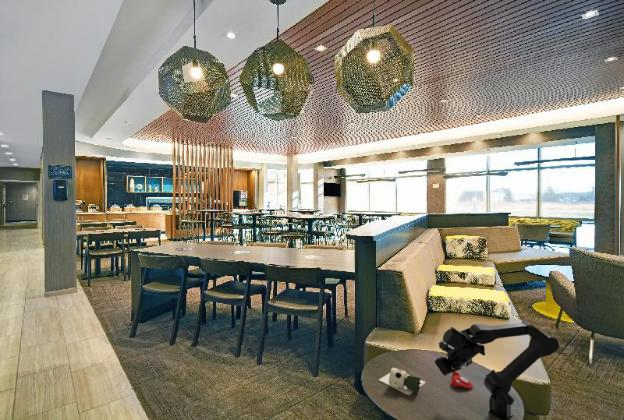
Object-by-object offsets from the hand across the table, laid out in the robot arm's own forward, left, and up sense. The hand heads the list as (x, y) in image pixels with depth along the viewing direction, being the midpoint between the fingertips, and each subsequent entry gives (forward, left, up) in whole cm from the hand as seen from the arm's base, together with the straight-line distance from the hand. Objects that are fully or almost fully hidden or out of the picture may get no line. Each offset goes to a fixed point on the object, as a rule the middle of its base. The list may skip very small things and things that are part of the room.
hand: (441, 371), depth 137 cm
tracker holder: (+2, -18, -12) cm, 22 cm away
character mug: (+8, +4, -8) cm, 12 cm away
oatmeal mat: (+18, +3, -11) cm, 22 cm away
